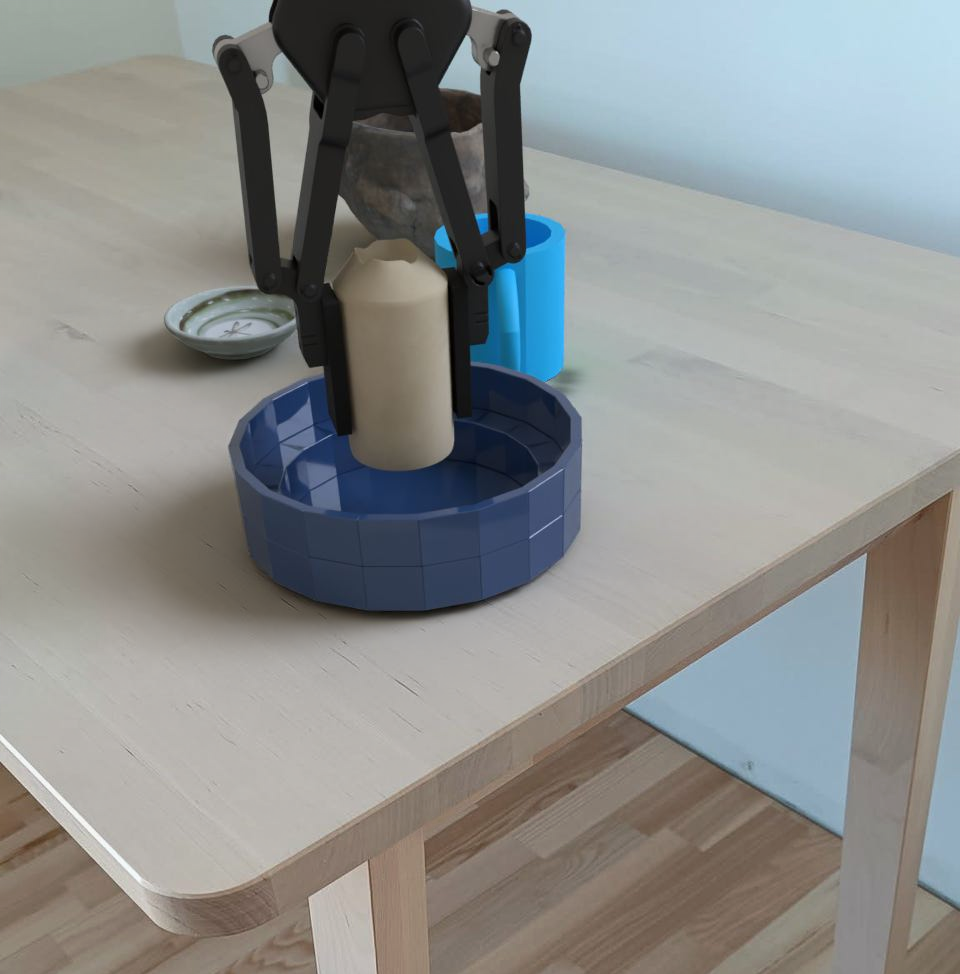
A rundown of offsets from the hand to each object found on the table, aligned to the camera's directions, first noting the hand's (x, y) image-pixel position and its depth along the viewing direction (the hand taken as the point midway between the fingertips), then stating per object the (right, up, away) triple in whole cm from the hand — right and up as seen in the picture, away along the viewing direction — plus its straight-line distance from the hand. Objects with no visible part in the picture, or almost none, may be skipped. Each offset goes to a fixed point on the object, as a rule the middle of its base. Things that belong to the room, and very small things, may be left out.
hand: (399, 414), depth 65 cm
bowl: (0, +25, +36) cm, 44 cm away
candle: (0, -1, +1) cm, 2 cm away
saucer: (-13, +13, +23) cm, 29 cm away
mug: (+6, +8, +18) cm, 21 cm away
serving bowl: (0, -5, +4) cm, 6 cm away
